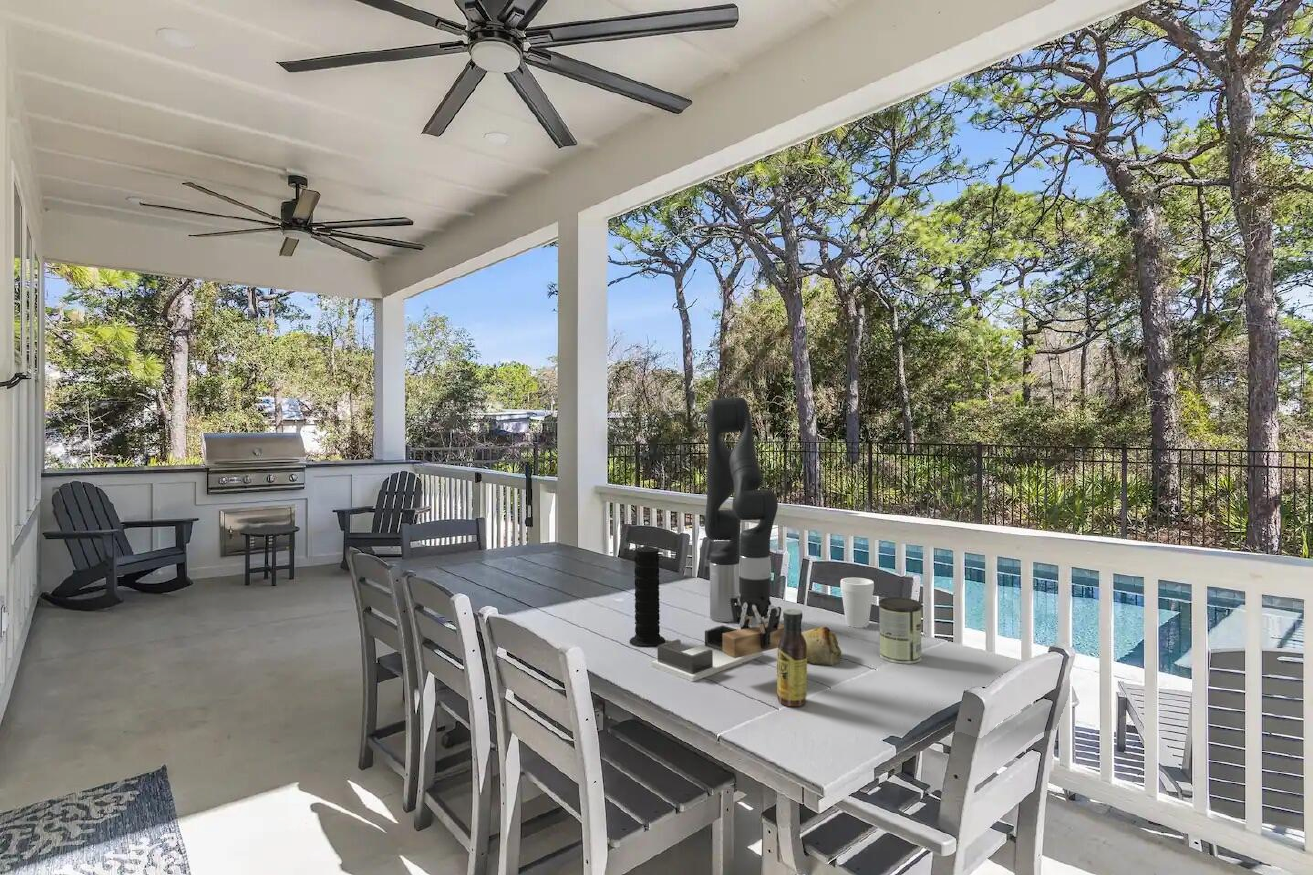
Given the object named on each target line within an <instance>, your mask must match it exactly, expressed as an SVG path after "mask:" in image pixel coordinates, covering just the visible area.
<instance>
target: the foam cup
mask: <svg viewBox="0 0 1313 875" xmlns="http://www.w3.org/2000/svg"><path fill="white" fill-rule="evenodd" d="M874 582H875V581H873V580H872V579H869V578H865V577H844V578H841V579H840V589H841V598H842V605H843V612H844V618H845V619H844V620H845V625H846V624H847V625H848V626H847V625H846V626H847V627H849V626H851V627H850V628H853V627H859V628H858V629H864V628H863V627H866V628H868V627H869V623H870V617H871V615H870V614H871V609H872V602H873V596H874V595H873V593H874V590H875V583H874ZM867 626H868V627H867Z"/></svg>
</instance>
